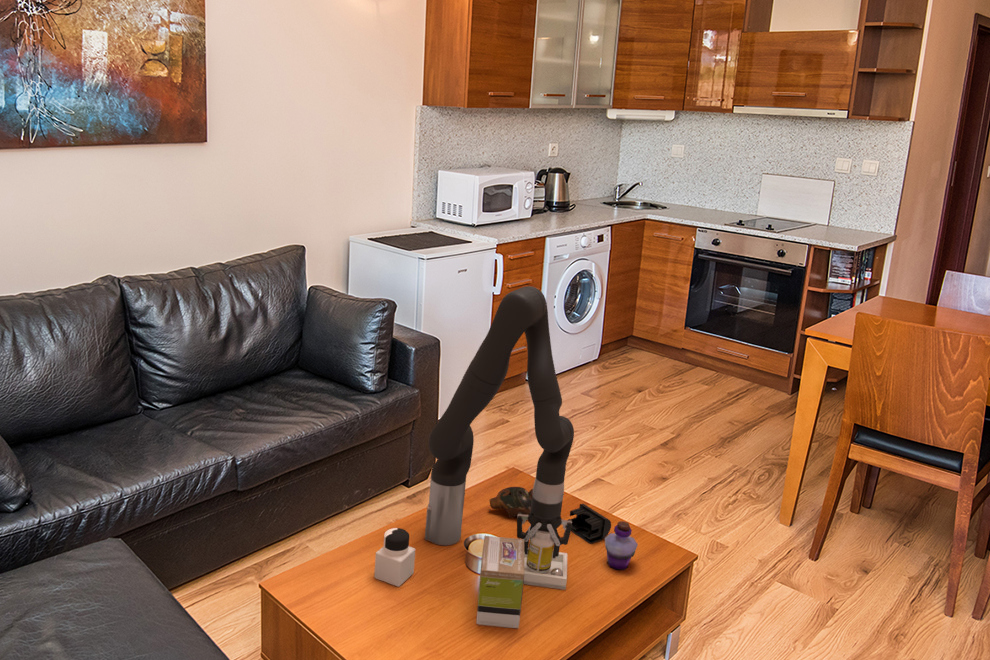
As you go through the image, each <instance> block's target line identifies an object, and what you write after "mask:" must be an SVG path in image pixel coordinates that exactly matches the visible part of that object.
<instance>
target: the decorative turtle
mask: <svg viewBox="0 0 990 660" xmlns="http://www.w3.org/2000/svg"><path fill="white" fill-rule="evenodd" d="M532 495H533V488H530V490H527V489H526V488H524V487H523V486H522V487H521V486H509V487H504V488H503V489H501V490H500V491H499V492H498V493H497V495H496V496H495V497H490V499H489V505H490V508H491V509H495V510H497V509H500V510H501V509H502V510H503V509H504V510H505V511H506V512H507V515H508V517H509V518H511V519H513V518H514V517H517V516H518V513H519V512H521V513H522V515H528V514H529V513H530V511H531V503H532Z"/></svg>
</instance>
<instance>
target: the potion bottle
mask: <svg viewBox="0 0 990 660" xmlns="http://www.w3.org/2000/svg"><path fill="white" fill-rule="evenodd" d="M613 531H614V532H611V533H610V532H609V533H608V535H607V536H606V537H605V538H604V544H605V545H604V547H605V549H606V558H607V559H606V560H607V561H606V564H607V566H608V567H609V568H610V569H613V570H615V571H625V570H627V568H629V564H630V562H631V558H633V557H634V556H635V553H636V551H637V548H638V545H639V544H638V542H637V541H636V539H635V538H634V537H633V536H631V535H632V528H631V526H630V523H628V522H627V521H622V520H621V521H618V522H617V525H615V526H614V530H613Z"/></svg>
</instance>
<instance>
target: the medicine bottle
mask: <svg viewBox="0 0 990 660" xmlns="http://www.w3.org/2000/svg"><path fill="white" fill-rule="evenodd" d="M383 535H384V537H383V546H382V547H381V548H380V549H378V550H377V551H376V552H375V556H374V557H375V559H374V579H376V580H378V581H382V582H385V583H386V584H390V585H392V586H395V587H400V586H401V585H403V584H404V583H405V582H406V581H407V580H408V579H409V578H410V577H411V576H412V575H413V574H414V571H415V562H416V561H415V559H416V548H415V547H412V546H410V545H409V544H410V533H409V532H408V531H407V530H406V529H405V528H404V529H403V528H401V527H400V528H399V527H392V528H390V529H387V530H386V531H385V532H384V534H383Z"/></svg>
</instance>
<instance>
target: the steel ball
mask: <svg viewBox="0 0 990 660" xmlns="http://www.w3.org/2000/svg"><path fill="white" fill-rule="evenodd" d="M551 575H556V576H563V572H562V570H561V569H559V568H554V569H552V571H551Z"/></svg>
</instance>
